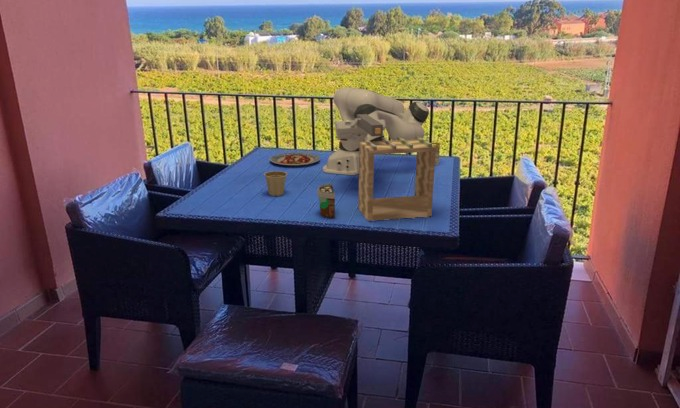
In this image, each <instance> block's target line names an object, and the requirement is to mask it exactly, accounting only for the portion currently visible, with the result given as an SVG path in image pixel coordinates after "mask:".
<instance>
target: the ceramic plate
mask: <svg viewBox="0 0 680 408" xmlns="http://www.w3.org/2000/svg"><path fill="white" fill-rule="evenodd" d="M320 160H321V157H320V156H319V155H318V154H313V153H310V152H301V151H300V152H296V151H295V152H284V153H278V154H274V155H272V156H270V158H269V161H270V162H271V163H274V164H277V165H281V166H285V167H301V166H308V165H310V164H314V163H315V164H316V163H318V162H319V161H320Z"/></svg>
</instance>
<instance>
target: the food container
mask: <svg viewBox="0 0 680 408" xmlns="http://www.w3.org/2000/svg"><path fill="white" fill-rule="evenodd" d="M333 184H334V183H327V184H322V185H319V186H318V188H317V190H316V191H317V192H316V195H317V196H318V202H319V203H318V204H319V213H320V214H319V215H320V216H321V217H323V218H326V217H327V218H328V219H335V218H336V215H335V214H336V213H335V212H336V210H335V209H336V207H335V206H336V205H335V204H336V192H334V188H333V187H334V186H333Z"/></svg>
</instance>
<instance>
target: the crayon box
mask: <svg viewBox="0 0 680 408" xmlns="http://www.w3.org/2000/svg"><path fill="white" fill-rule="evenodd" d="M430 143H431V144H432V145H433V146H435V147H436V154H435V166H439V163H440V149H441V147H440V146H441V142H430Z"/></svg>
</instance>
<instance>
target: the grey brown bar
mask: <svg viewBox="0 0 680 408" xmlns="http://www.w3.org/2000/svg"><path fill="white" fill-rule="evenodd" d="M357 119H359V124H357V125H358V126H359V127H360V128H362V129H363V130H364V131H365V132H367V133H368V134H369V135H371V136H383V133H384V130H383V125H382V124H381V123H379V122H378V121H376V120H375V119H373V118H372V117H370V116H369V115H367V114H357Z"/></svg>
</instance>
